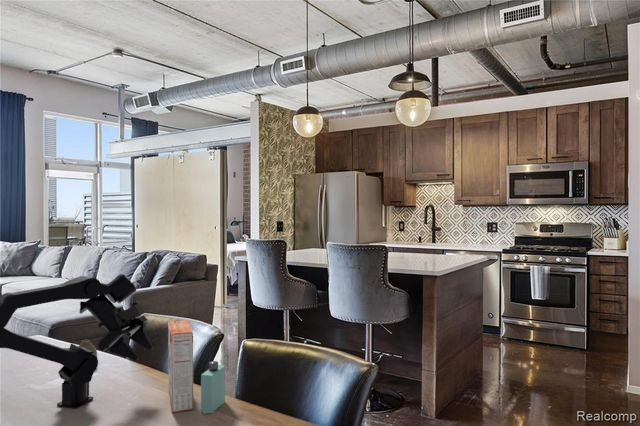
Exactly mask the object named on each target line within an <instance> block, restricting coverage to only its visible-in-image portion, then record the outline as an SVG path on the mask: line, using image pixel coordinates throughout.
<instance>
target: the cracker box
mask: <svg viewBox="0 0 640 426" xmlns="http://www.w3.org/2000/svg"><path fill="white" fill-rule="evenodd" d="M167 324H168V325H167V330H168V331H167V332H168V333H167V335H168V336H167V337H168V339H167V340H168V341H167V343H168V395H169V401H170V403H169V404H170V409H171V413H178V412H184V411H185V410H186V411H190V410H191V411H192V410H194V332H193V330H192V328H191V325H190V322H189V319H188V320H187V319H185V320H172V321H168V323H167ZM186 411H185V412H186Z"/></svg>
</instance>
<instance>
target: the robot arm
mask: <svg viewBox="0 0 640 426" xmlns="http://www.w3.org/2000/svg"><path fill="white" fill-rule="evenodd" d="M134 293H137V288H136V285H135V284H134V283H132V281H131V280H130V279H129V278H127V276H126V275H125V274H123V273H119V274H118V275H117V276H116V277H115V278H114V279H113V280H111V281H109V282H108V283H102V282H100V280H99V279H98V278H95V277H91V276H88V275H80V276H76V277H75V278H71V279H69V280H66V281H65V282H63V283H60V284H59V283H58V284H54V285H49V286H44V287H39V288H38V287H37V288H33V289H27V290H22V291H15V292H5V293H3V294H1V295H0V349H8V350H11V351H12V350H13V351H16V352H19V353H22V354H25V355H30V356H33V357H36V358H39V359H43V360H47V361H51V362H53V363H56V364H60V365H62V367H61V368H60V369H59V370H58V372H57V373H58V376H59V377H60V379H61V380H63V382H62V383H61V401H59V402H57V403H56V406H58V407H65V408H72V409H77V408H80V407H82V406H83V405H85V404H87V403H88V402H91V401H92V400H94V396H90V382H91V381H92V379H93V376H94V373H95V371H96V370H97V368H98V365H99V360H98V356H97V357H96V356H95V355H93V353H94V352H92V351H90V350H88V349H86V348H84V347H78V346H79V345H75V344H74V343H70V346H69V347H67V348H66V347H60V346H57V345H53V344H51V343H48V342H45V341H41V340H38V339H35V338H32V337H29V336H26V335H23V334H19V333H16V332H13V331H11V330H9V329H8V328H6V326H7V325H8V323H9V321H10V320H11V319H12V317H13V315H14V313H16V311H17V310H18V309H23V308H27V307H32V306H38V305H42V304H47V303H54V302H58V301H62V300H64V301H65V300H86V301H80V302H79V307H80V308H79V314H83V313H85V312H86V311H88V312H89V313H90V314H91V315H92V316H93V317H94V318H95V319H96V320H97V321H98V322H99V323H98V324H97V327H99V328H104V329H105V330H106V331H107V332H106V333H105V334H104V335H103V336H102V337H101V338H100V339H99V340H98V342H97V348H98V349H100V351H102V352H105V351H106V353H113V354H115V355H118V356H121V357H125V358H127V359H130V360H134V361H137V360H138V359H139V356H138V354H137V352H136V351H135V350H134V349H133V348H132V346H131V345H130V343H129V342H128V339H130V340H131V341H133V342H135V343H136V344H137V345H140V346H141V347H143V348H145V349H146V350H148V351H151V350H152V349H153V348H154V347H153V345H152V342H151V340H150V339H149V336H148V333H147V331H146V330H147V325H148V318H147V317H146V316H145V315H144V314H146V311H145V309H146V305H145V304H144V303H143V302H140V300H137V301H134V302H132V303H130V304H131V307H128V308H126V309H124V308H123V307H118V308H117V306H115V304H116V303H117V304H122V303H123V302H125V300H126V299H128V298H130V296H132V295H133V294H134ZM127 337H129V338H127Z"/></svg>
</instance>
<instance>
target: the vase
mask: <svg viewBox="0 0 640 426" xmlns="http://www.w3.org/2000/svg"><path fill="white" fill-rule="evenodd" d="M77 346H78V347H84V348H86V349H88V350H90V351H92V352H94V353H93V355H95V356H96V357H97V358H98V352H97V348H96V346H95V345H93V343H92V342H91V340H90V339H83V340H81V341H80V343H79V345H77Z"/></svg>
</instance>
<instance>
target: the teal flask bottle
mask: <svg viewBox="0 0 640 426" xmlns="http://www.w3.org/2000/svg"><path fill="white" fill-rule="evenodd" d="M225 402H226V365H221V364H219V361H217V360H213V361H212V360H211V361H209V362H208V369H207V370H205V371H204V372H202V374H200V413H201V412H205V413H204V414H206V413H212V414H213V413H214V412H216V411H217V410H218V409H219V408H220V407H221V406H222V405H223V404H224V403H225ZM218 407H219V408H218ZM217 408H218V409H217ZM216 409H217V410H216ZM215 410H216V411H215Z"/></svg>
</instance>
